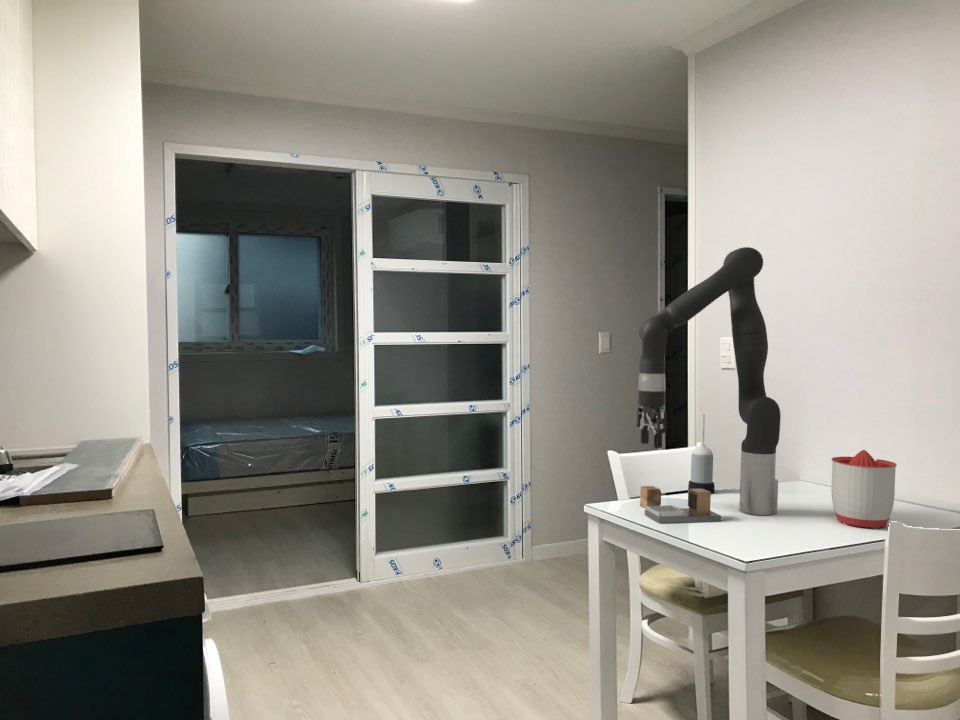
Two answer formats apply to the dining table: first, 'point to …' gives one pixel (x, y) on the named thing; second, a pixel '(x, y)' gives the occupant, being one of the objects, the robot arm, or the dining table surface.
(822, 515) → the dining table surface
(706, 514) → the rail dock
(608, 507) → the dining table surface
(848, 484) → the citrus juicer
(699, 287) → the robot arm
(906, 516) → the dining table surface
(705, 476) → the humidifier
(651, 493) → the tan wooden block
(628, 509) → the dining table surface
